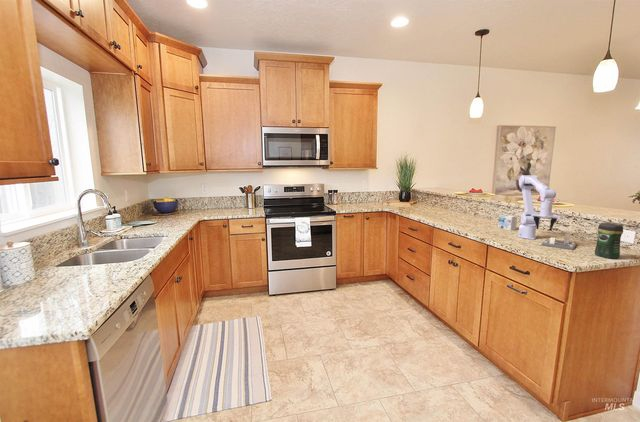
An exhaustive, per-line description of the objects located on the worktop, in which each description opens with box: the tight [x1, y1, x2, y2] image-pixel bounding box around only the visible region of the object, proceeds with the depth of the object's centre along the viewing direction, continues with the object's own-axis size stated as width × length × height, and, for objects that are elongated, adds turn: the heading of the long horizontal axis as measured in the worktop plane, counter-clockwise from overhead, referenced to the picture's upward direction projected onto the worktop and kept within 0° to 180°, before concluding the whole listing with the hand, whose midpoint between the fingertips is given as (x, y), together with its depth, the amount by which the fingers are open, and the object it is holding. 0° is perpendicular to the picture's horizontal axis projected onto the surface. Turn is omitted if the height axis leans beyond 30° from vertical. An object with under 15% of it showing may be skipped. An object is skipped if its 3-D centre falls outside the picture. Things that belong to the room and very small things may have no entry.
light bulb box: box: [497, 214, 518, 231], centre depth 232 cm, size 11×7×11 cm, turn 25°
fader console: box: [541, 238, 578, 251], centre depth 185 cm, size 15×18×2 cm
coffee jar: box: [594, 222, 624, 260], centre depth 160 cm, size 10×8×19 cm
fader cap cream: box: [549, 237, 557, 244], centre depth 184 cm, size 2×3×4 cm
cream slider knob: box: [563, 236, 571, 244], centre depth 185 cm, size 2×3×4 cm
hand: (543, 229), depth 186 cm, fingers open, 6 cm apart
